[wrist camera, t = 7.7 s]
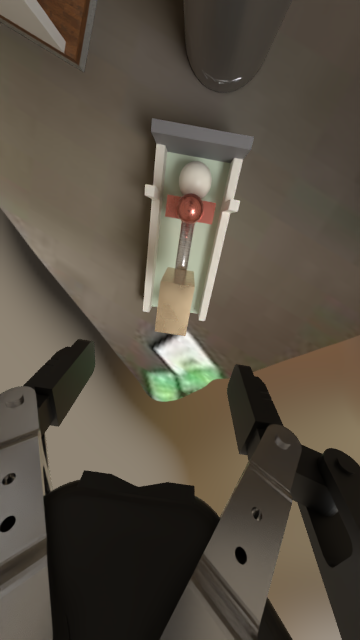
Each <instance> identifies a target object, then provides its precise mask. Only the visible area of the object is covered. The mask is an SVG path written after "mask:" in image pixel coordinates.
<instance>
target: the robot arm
mask: <svg viewBox="0 0 360 640" xmlns="http://www.w3.org/2000/svg"><path fill="white" fill-rule="evenodd" d="M291 2H292V0H184V24H185V45H186V51H187V56H188V59H189V62H190V65H191V68H192V70H193V71H194V73H195V75H196V77H197V78H198V79H199V80H200V81H201V83H202V84H203V85H205V86H206V87H208V88H209V89H211V90H214V91H217V92H231V91H235V90H237V89H239V88H241V87H242V86H244V85H245V84H246V83H248V82H249V81H250V80H251V79H252V78H253V77H254V75H255V74H256V73H257V72H258V70H259V69H260V67H261V65H262V64H263V62H264V60H265V58H266V56H267V54H268V52H269V49H270V47H271V45H272V43H273V41H274V38H275V36H276V34H277V32H278V30H279V28H280V26H281V24H282V21H283V19H284V17H285V15H286V13H287V10H288V8H289V6H290V4H291ZM94 367H95V350H94V342H93V341H88V340H82V339H78V340H77V341H76V342H75V343H74V344H73V345H72V346H71V347H65V348H63V349H61V350H59V351H58V352H56V353H55V355H53V356H52V358H51V359H50V360H49V361H48V362H47V363H45V365H44V366H42V367H41V368H40V369H39V370H38V372H37V373H35V375H34V376H33V377H31V378H30V380H29V381H27V383H25V384H24V386H21V387H15V388H11V389H9V390H7V391H5V392H3V393H1V394H0V640H292V638H291V636H290V634H289V633H288V631H287V629H286V628H285V626H284V624H283V623H282V621H281V619H280V618H279V616H278V614H277V613H276V611H275V609H274V607H273V606H272V604H271V602H270V601H269V599H268V597H267V595H268V592H269V588H270V584H271V580H272V576H273V573H274V569H275V565H276V561H277V558H278V554H279V550H280V546H281V542H282V539H283V535H284V531H285V527H286V523H287V520H288V516H289V512H290V509H291V505H292V500H294V501H296V502H298V506H299V509H300V512H301V515H302V518H303V521H304V524H305V527H306V530H307V533H308V536H309V539H310V542H311V546H312V548H313V552H314V554H315V558H316V561H317V564H318V567H319V570H320V573H321V576H322V579H323V582H324V585H325V588H326V591H327V595H328V598H329V600H330V604H331V607H332V610H333V613H334V616H335V619H336V622H337V626H338V628H339V632H340V635H341V638H342V640H360V466H359V465H358V464H357V463H356V462H355V461H354V460H353V459H352V458H351V457H350V456H348V455H347V454H345V453H344V452H342V451H340V450H337V449H333V448H329V449H326V450H325V451H324V453H323V454H321V453H319V452H317V451H314V450H312V449H310V448H308V447H305V446H303V445H301V444H300V442H299V440H298V438H297V437H296V436H295V435H294V433H292V432H291V431H290V430H289V429H287V428H286V427H284V426H283V424H282V422H281V420H280V417H279V415H278V413H277V410H276V408H275V406H274V404H273V401H272V400H271V397H270V395H269V392H268V390H267V388H266V386H265V384H264V383H263V382H262V380H261V379H260V378H259V377H255V376H254V375H253V372H252V370H251V367H250V366H244V365H238V364H236V365H235V367H234V369H233V372H232V375H231V378H230V381H229V384H228V388H227V394H228V401H229V406H230V410H231V415H232V420H233V425H234V430H235V435H236V440H237V445H238V450H239V454H244V455H248V460H249V462H248V464H247V466H246V468H245V470H244V472H243V474H242V476H241V478H240V479H239V481H238V483H237V485H236V487H235V489H234V491H233V493H232V495H231V497H230V499H229V501H228V503H227V504H226V506H225V508H224V510H223V512H222V514H221V516H220V517H219V516H218V515H217V513H216V512H215V511H214V510H213V509H212V508H211V507H210V506H209V505H208V504H207V503H205V502H204V501H203V500H201V499H199V498H198V497H196V496H194V486H190V485H183V484H176V483H169V482H166V483H160V484H154V485H148V486H142V487H137V486H134V485H132V484H130V483H128V482H126V481H124V480H122V479H120V478H118V477H116V476H114V475H112V474H106V473H99V472H91V471H84V472H83V475H82V477H81V479H80V480H76V481H73V482H69V483H67V484H65V485H62V486H60V487H58V488H56V489H55V490H53V489H52V483H51V477H50V470H49V461H48V454H47V444H46V436H45V431H46V430H47V429H48V427H49V426H50V425H53V426H59V425H60V424H61V422H62V421H63V419H64V418H65V416H66V415H67V413H68V411H69V410H70V408H71V407H72V405H73V403H74V402H75V400H76V399H77V397H78V396H79V394H80V392H81V391H82V389H83V388H84V386H85V385H86V383H87V381H88V380H89V378H90V376H91V375H92V373H93V371H94Z"/></svg>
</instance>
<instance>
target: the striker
mask: <svg viewBox="0 0 360 640" xmlns="http://www.w3.org/2000/svg"><path fill="white" fill-rule="evenodd" d="M215 207H216V203H213V202H208V201H202V200H201V198H200V197H199V196H198V195H196V194H193V193H188V194H185V195H183V196H182V197H179V196H174V195H168V194H167V203H166V212H165V217H171V218H177V219H180V220H181V221H182V223H181V230H180V237H179V244H178V251H177V258H176V265H175V268H170V267H167V269H166V271H165V273H164V275H163V277H162V279H161V282H160V291H159V299H158V308H157V317H156V325H155V331H157V332H163V333H169V334H175V335H182V336H185V335H186V330H187V325H188V320H189V314H190V309H191V304H192V299H193V294H194V289H195V281H194V271H188V270H187V267H188V261H189V255H190V249H191V243H192V237H193V231H194V225H195V223H196V222H200V223H206V224H211V225H212V222H213V217H214V212H215Z"/></svg>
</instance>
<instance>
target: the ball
mask: <svg viewBox="0 0 360 640" xmlns="http://www.w3.org/2000/svg"><path fill="white" fill-rule="evenodd" d="M211 183H212V177H211V173H210V170H209V168H208V167H207V166H206V165H205V164H204V163H202V162H200V161H192V162H189V163H188V164H186V165H185V166H184V168H183V169H182V171H181V173H180V176H179V187H180V190H181V192H182V194H183V195H185V194H188V193H193V194H196V195H198V196H199V197H200V198H201V199H202V198H203V197H205V196H206V195H207V193H208V192H209V190H210V187H211Z"/></svg>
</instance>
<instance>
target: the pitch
mask: <svg viewBox="0 0 360 640" xmlns="http://www.w3.org/2000/svg"><path fill="white" fill-rule="evenodd" d="M151 133H152V135H153V137H154V139H155V142H156V155H155V167H154V180H153V185H148V184H145V196H147V197H149V198H151V199H152V204H151V217H150V229H149V241H148V254H147V266H146V278H145V291H144V303H143V311H145V312H149V311H150V309H151V307H152V306H154V307H158V299H159V291H160V282H161V279H162V277H163V275H164V273H165V271H166V269H167V267H170V268H175V265H176V258H177V251H178V244H179V237H180V230H181V223H182V221H181V220H180V219H177V218H171V217H165V212H166V203H167V194H168V195H174V196H179V197H182V196H183V194H182V192H181V190H180V187H179V176H180V173H181V171H182V169H183V168H184V166H185V165H186V164H188V163H189V162H192V161H200V162H202V163H204V164H205V165H206V166H207V167H208V168H209V170H210V173H211V177H212V183H211V187H210V190H209V192H208V193H207V195H206V196H205V197H203V198H202V199H201V200H202V201H208V202H213V203H216V207H215V212H214V217H213V222H212V225H211V224H206V223H200V222H196V223H195V225H194V231H193V237H192V243H191V249H190V255H189V261H188V267H187V270H188V271H194V281H195V289H194V294H193V299H192V304H191V309H190V312H191V313H197V314H198V317H199V320H201V321H205V318H206V314H207V310H208V306H209V301H210V297H211V293H212V289H213V284H214V280H215V276H216V272H217V267H218V263H219V259H220V255H221V250H222V246H223V242H224V238H225V233H226V229H227V225H228V221H229V216H230V213H233V212H238V208H239V204H240V201H238V200H233V199H234V195H235V191H236V187H237V182H238V178H239V174H240V170H241V165H242V161H243V159H244V157H245V156H246V155H247V154H248V153H249V152H250V150H251V148H252V144H253V139H254V137H251V136H246V135H241V134H235V133H230V132H224V131H219V130H214V129H208V128H203V127H197V126H192V125H187V124H181V123H176V122H170V121H165V120H160V119H154V118H152V124H151Z"/></svg>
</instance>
